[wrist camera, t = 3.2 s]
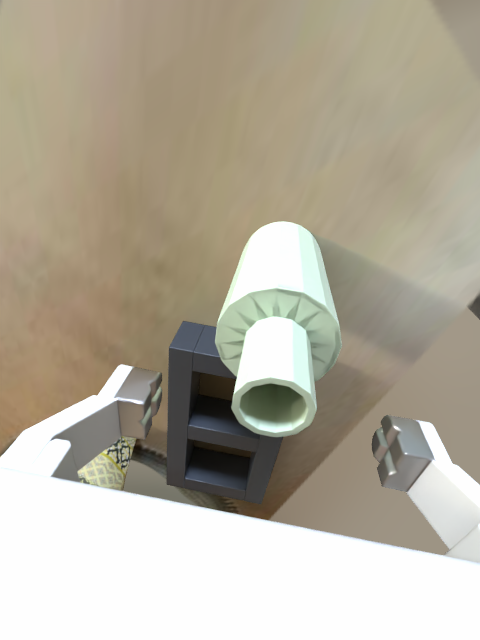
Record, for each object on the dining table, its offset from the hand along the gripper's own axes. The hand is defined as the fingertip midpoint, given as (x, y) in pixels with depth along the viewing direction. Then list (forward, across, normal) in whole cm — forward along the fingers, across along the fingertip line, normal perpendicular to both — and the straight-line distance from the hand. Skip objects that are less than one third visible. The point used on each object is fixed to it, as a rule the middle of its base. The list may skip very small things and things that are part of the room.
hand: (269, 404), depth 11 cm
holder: (+15, +2, +17) cm, 23 cm away
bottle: (+15, 0, 0) cm, 15 cm away
